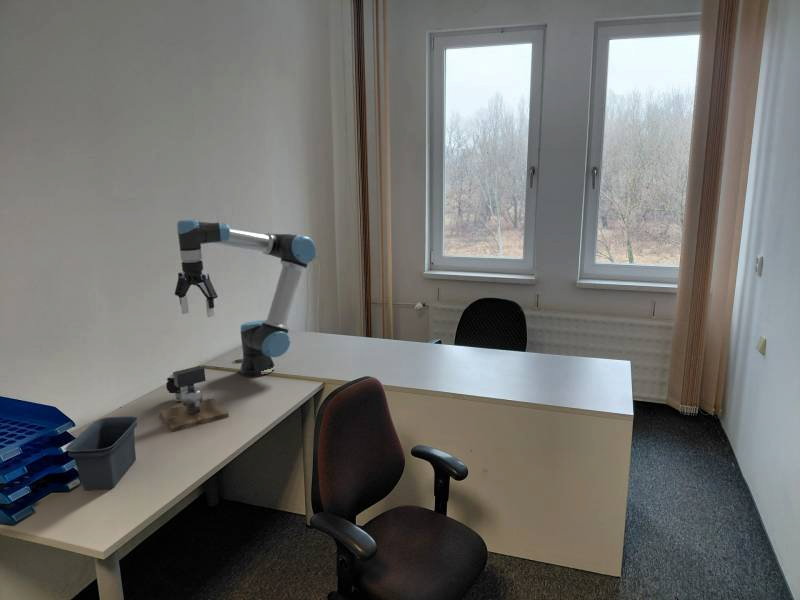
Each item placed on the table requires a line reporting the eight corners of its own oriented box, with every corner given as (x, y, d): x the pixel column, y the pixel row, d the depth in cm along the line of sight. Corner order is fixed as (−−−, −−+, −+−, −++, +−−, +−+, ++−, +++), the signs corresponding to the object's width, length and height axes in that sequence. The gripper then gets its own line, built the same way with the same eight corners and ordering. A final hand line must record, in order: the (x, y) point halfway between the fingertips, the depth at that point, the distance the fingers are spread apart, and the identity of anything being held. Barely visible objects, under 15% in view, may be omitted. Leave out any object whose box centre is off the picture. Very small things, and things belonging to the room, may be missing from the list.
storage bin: (117, 494, 157) (110, 448, 154) (61, 497, 157) (53, 450, 153) (147, 457, 178) (141, 415, 175) (98, 459, 177) (91, 417, 174)
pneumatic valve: (195, 394, 228) (192, 366, 226) (179, 406, 217) (175, 377, 214) (183, 394, 229) (179, 366, 227) (166, 405, 218) (162, 376, 215)
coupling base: (213, 401, 221) (212, 389, 220) (228, 416, 206) (227, 404, 205) (160, 414, 210) (158, 402, 208) (172, 431, 195) (170, 418, 194)
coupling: (174, 402, 207) (169, 370, 204) (200, 394, 214) (196, 363, 211) (184, 410, 200) (180, 377, 197) (211, 402, 206) (207, 370, 203)
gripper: (223, 260, 209) (229, 315, 214) (176, 258, 221) (182, 309, 225) (208, 263, 203) (214, 320, 208) (160, 260, 214) (167, 314, 219)
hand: (198, 314), depth 216 cm, fingers open, 13 cm apart
